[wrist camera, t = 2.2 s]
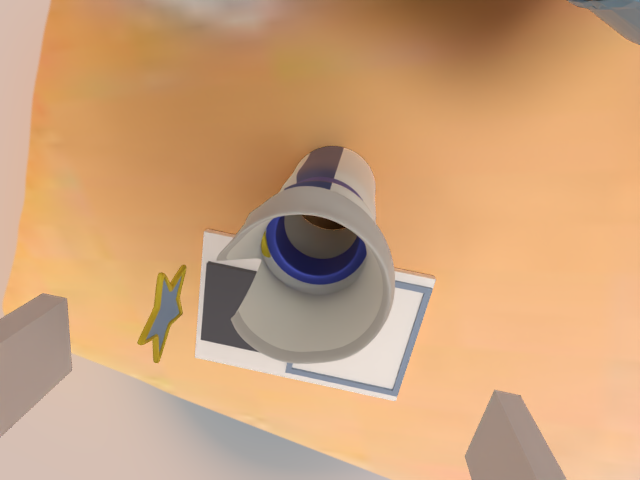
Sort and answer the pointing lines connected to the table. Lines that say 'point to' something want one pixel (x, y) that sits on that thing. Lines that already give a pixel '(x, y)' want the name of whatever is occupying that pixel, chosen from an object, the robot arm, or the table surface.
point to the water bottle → (304, 267)
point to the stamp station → (347, 374)
